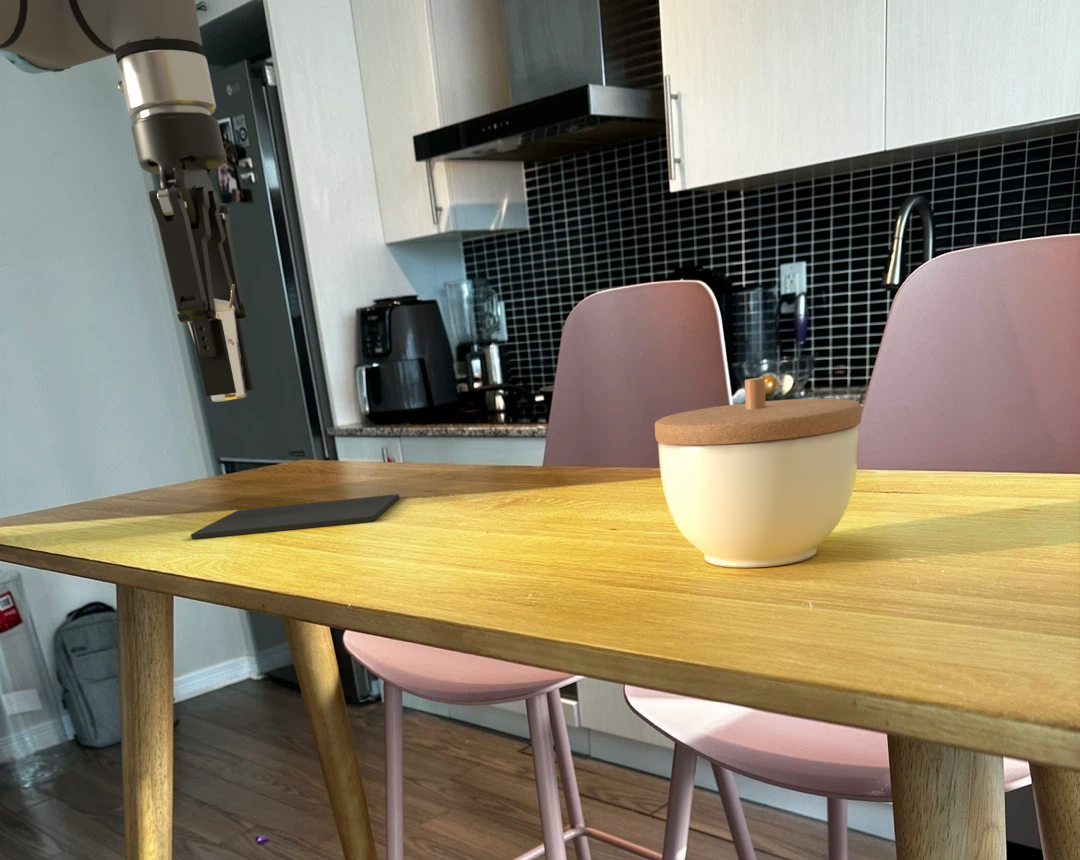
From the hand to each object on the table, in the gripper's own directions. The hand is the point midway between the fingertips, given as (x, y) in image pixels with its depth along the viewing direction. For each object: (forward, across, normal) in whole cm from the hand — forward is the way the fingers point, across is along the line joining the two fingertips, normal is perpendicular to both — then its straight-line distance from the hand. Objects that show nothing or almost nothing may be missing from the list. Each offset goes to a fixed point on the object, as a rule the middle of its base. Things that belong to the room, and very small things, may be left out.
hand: (230, 392), depth 99 cm
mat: (+13, -2, +4) cm, 14 cm away
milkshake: (+1, 0, 0) cm, 1 cm away
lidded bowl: (+13, +35, +45) cm, 58 cm away
